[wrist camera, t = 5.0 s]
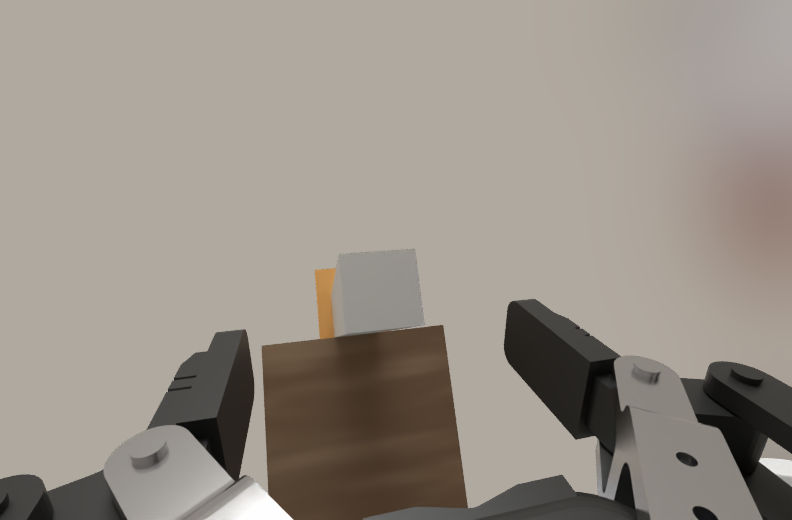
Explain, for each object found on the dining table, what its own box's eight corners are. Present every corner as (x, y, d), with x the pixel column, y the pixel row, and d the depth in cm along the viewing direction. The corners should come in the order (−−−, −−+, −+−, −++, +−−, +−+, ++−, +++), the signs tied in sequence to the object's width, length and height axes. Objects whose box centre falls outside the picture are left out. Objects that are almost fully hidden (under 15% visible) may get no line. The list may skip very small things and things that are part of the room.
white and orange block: (449, 322, 12) (432, 199, 12) (317, 337, 11) (308, 204, 12) (369, 334, 32) (364, 287, 33) (320, 339, 31) (317, 291, 32)
